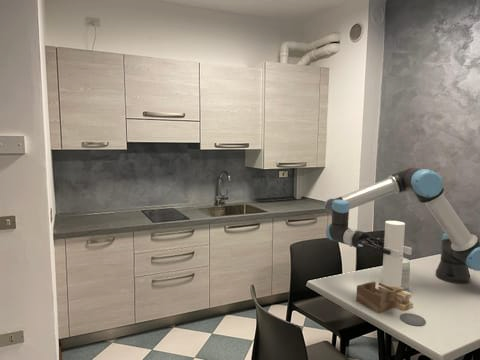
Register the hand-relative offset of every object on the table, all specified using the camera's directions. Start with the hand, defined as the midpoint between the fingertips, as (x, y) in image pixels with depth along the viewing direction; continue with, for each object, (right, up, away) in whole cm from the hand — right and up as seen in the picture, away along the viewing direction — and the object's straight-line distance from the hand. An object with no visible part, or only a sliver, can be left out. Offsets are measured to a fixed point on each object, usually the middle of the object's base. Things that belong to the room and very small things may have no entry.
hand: (405, 253), depth 137 cm
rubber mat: (+3, -26, 0) cm, 26 cm away
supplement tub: (+9, -23, +27) cm, 37 cm away
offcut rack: (-3, -24, +13) cm, 28 cm away
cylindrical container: (-3, -14, +6) cm, 15 cm away
